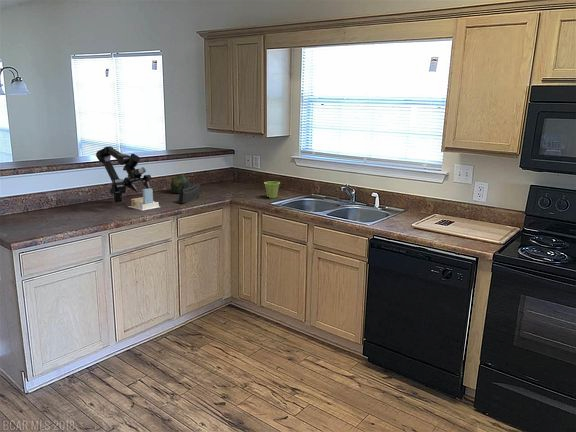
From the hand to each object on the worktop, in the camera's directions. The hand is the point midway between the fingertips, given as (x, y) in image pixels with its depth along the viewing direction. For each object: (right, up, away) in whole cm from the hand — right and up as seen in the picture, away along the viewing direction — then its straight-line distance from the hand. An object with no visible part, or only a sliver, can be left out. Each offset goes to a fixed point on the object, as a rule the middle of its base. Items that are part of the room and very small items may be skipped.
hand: (143, 190), depth 289 cm
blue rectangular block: (+3, -11, 0) cm, 11 cm away
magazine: (+23, -5, +33) cm, 40 cm away
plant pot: (+80, -3, +49) cm, 94 cm away
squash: (+10, +2, +58) cm, 59 cm away
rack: (0, -12, +3) cm, 12 cm away
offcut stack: (-3, -10, +4) cm, 11 cm away
